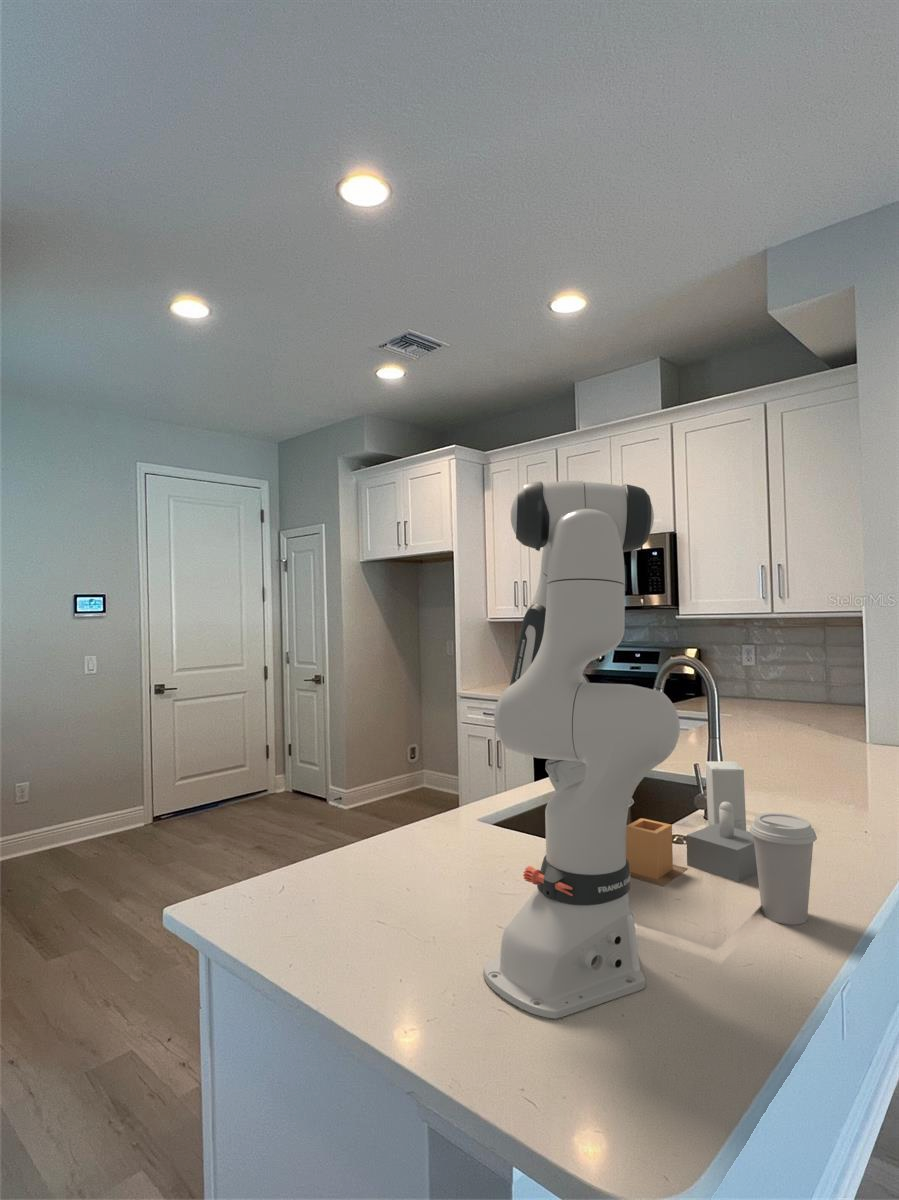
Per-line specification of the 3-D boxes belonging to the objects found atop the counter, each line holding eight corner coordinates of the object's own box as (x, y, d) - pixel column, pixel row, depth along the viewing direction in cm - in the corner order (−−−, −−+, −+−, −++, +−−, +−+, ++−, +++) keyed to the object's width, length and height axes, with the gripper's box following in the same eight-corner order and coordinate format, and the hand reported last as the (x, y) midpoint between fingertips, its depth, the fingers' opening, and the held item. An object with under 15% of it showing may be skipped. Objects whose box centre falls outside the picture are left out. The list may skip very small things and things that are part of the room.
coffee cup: (737, 908, 113) (736, 815, 113) (783, 898, 116) (781, 808, 116) (785, 934, 104) (783, 834, 104) (832, 922, 107) (831, 825, 107)
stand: (663, 894, 118) (662, 843, 118) (610, 879, 125) (609, 831, 125) (688, 876, 126) (687, 828, 126) (637, 863, 132) (636, 817, 132)
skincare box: (747, 848, 139) (745, 770, 139) (712, 846, 140) (711, 769, 140) (738, 833, 147) (737, 760, 147) (705, 832, 149) (704, 759, 149)
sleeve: (657, 879, 121) (656, 833, 121) (626, 870, 125) (625, 826, 125) (672, 869, 126) (671, 824, 125) (642, 860, 130) (641, 818, 130)
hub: (738, 890, 119) (736, 814, 119) (687, 873, 127) (685, 801, 127) (768, 875, 125) (767, 802, 125) (718, 859, 133) (716, 790, 133)
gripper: (550, 751, 127) (599, 815, 120) (608, 733, 142) (653, 789, 135) (531, 772, 130) (577, 836, 123) (589, 752, 145) (633, 808, 138)
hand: (618, 811), depth 129 cm, fingers open, 8 cm apart
